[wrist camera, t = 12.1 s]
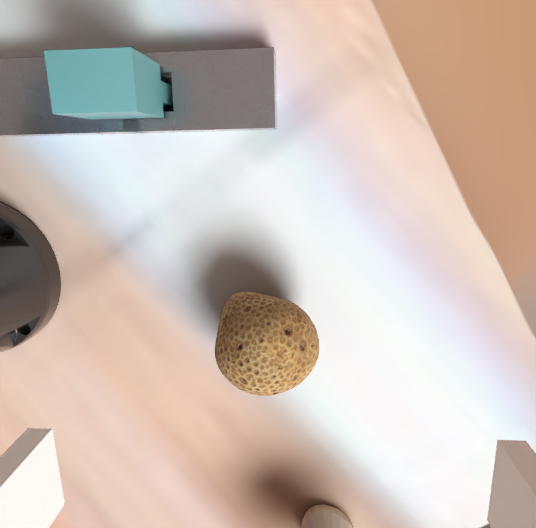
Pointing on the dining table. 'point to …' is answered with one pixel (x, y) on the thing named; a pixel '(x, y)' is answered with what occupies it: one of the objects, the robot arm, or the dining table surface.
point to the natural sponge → (265, 343)
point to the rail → (183, 88)
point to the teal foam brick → (106, 84)
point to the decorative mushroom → (325, 518)
